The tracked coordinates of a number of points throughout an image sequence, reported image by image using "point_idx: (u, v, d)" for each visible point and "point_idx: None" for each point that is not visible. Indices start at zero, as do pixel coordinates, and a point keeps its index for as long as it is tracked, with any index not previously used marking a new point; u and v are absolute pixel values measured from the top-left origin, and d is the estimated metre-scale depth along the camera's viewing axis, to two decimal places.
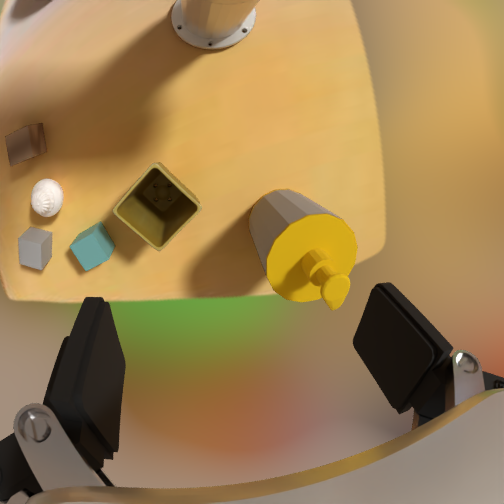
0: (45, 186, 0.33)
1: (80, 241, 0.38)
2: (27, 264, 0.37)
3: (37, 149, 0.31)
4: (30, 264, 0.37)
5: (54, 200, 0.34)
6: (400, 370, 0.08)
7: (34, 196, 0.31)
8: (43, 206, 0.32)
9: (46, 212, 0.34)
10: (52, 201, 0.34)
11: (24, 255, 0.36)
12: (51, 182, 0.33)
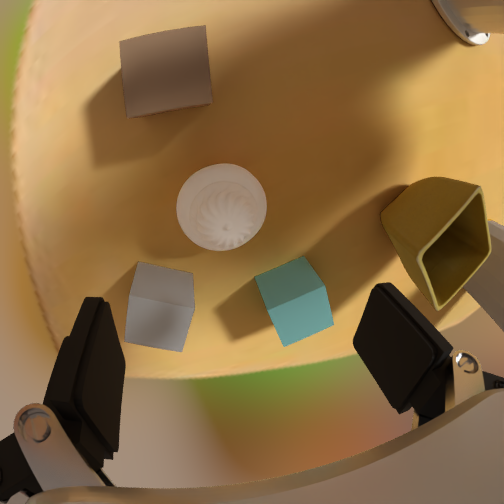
0: (238, 182, 0.17)
1: (295, 300, 0.22)
2: (146, 343, 0.21)
3: None
4: (154, 343, 0.21)
5: (257, 218, 0.18)
6: (400, 370, 0.08)
7: (216, 205, 0.16)
8: (243, 232, 0.17)
9: None
10: (255, 220, 0.18)
11: (141, 328, 0.20)
12: (248, 174, 0.18)
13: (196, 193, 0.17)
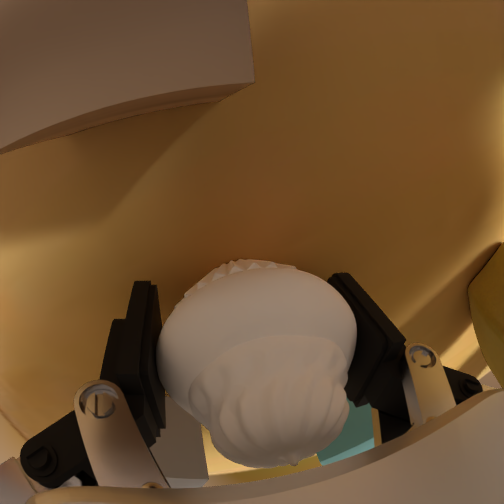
0: (314, 335, 0.06)
1: (361, 444, 0.11)
2: None
3: None
4: None
5: None
6: (354, 361, 0.08)
7: (267, 427, 0.05)
8: (322, 449, 0.06)
9: None
10: None
11: None
12: (334, 299, 0.07)
13: (203, 367, 0.06)
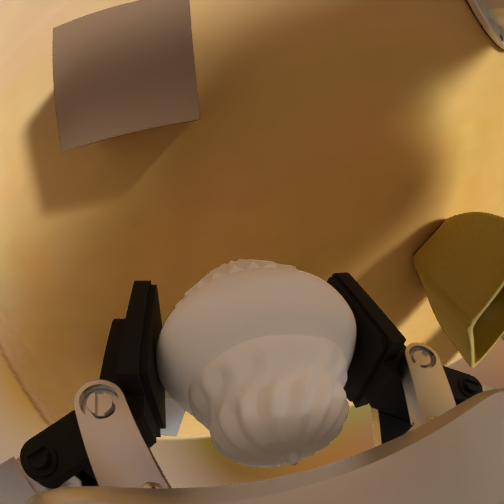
0: (314, 334, 0.06)
1: None
2: None
3: None
4: None
5: None
6: (353, 362, 0.08)
7: (267, 426, 0.05)
8: None
9: None
10: None
11: None
12: (334, 299, 0.07)
13: (203, 367, 0.06)
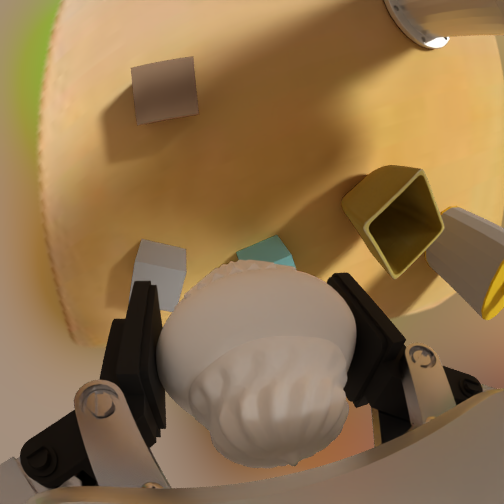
0: (314, 336, 0.06)
1: None
2: None
3: None
4: None
5: None
6: (353, 362, 0.08)
7: (266, 427, 0.05)
8: (322, 449, 0.06)
9: None
10: None
11: None
12: (333, 300, 0.07)
13: (203, 368, 0.06)
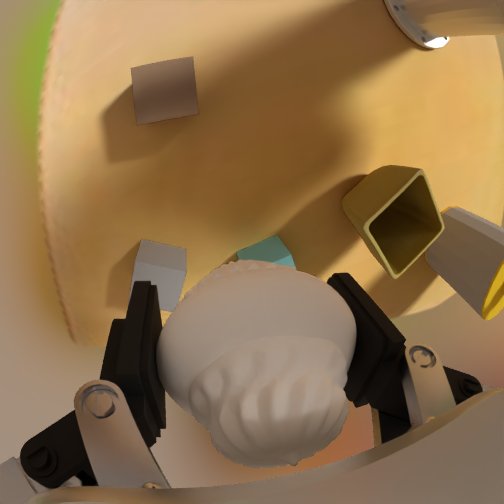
0: (314, 336, 0.06)
1: None
2: None
3: None
4: None
5: None
6: (354, 361, 0.08)
7: (267, 427, 0.05)
8: None
9: None
10: None
11: None
12: (334, 300, 0.07)
13: (203, 368, 0.06)
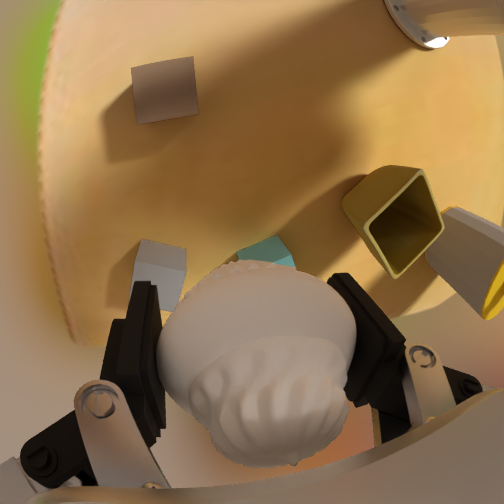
0: (314, 336, 0.06)
1: None
2: None
3: None
4: None
5: None
6: (354, 361, 0.08)
7: (267, 427, 0.05)
8: None
9: None
10: None
11: None
12: (333, 300, 0.07)
13: (203, 368, 0.06)
